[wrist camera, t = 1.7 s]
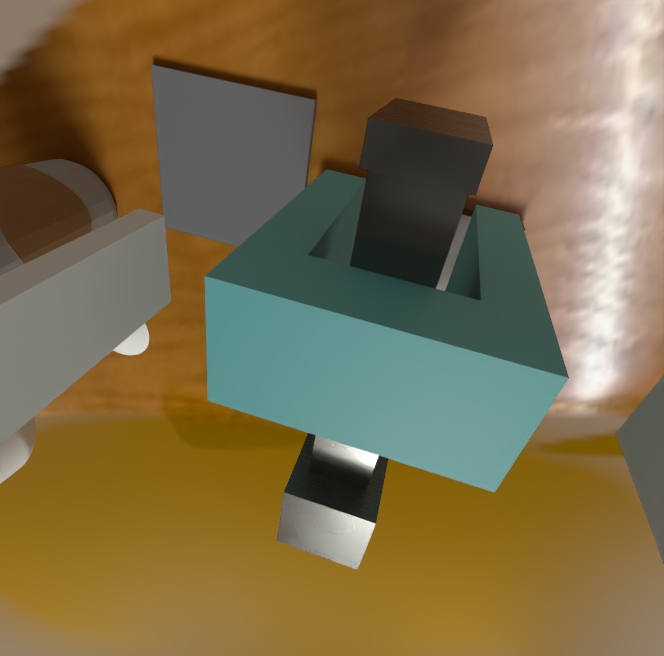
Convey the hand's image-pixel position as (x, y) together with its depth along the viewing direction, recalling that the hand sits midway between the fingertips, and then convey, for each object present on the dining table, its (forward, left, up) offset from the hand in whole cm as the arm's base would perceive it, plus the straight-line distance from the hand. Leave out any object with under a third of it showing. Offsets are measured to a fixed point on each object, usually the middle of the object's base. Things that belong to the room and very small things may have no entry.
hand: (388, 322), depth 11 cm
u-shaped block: (0, 0, -6) cm, 6 cm away
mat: (-12, -3, -16) cm, 20 cm away
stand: (0, -3, -16) cm, 17 cm away
